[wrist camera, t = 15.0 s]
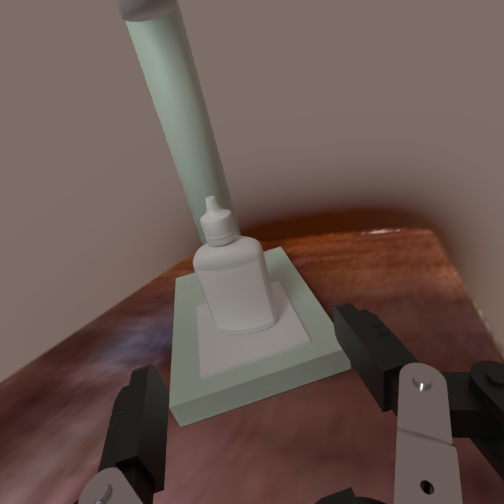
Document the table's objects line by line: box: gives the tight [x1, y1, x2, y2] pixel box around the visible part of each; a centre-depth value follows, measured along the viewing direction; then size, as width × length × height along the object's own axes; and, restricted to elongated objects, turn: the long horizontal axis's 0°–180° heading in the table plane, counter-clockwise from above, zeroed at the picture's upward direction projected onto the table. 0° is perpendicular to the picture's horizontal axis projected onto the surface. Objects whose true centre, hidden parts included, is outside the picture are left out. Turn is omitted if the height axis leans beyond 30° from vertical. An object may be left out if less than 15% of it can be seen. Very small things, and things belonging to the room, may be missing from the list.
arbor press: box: [116, 0, 351, 427], centre depth 22 cm, size 18×20×35 cm
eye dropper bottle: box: [193, 196, 277, 335], centre depth 24 cm, size 4×6×12 cm
